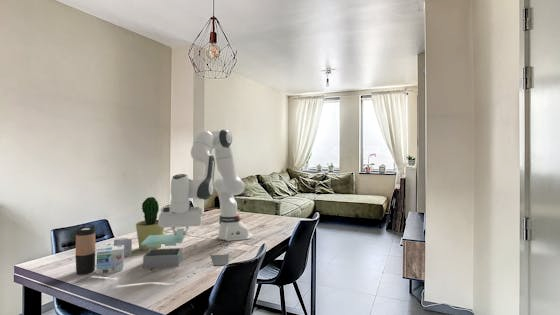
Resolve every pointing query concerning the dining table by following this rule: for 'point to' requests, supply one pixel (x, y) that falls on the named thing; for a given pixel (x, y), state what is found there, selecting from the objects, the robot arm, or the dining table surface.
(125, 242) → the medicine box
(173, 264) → the tub
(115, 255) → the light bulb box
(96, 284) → the dining table surface
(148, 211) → the potted cactus
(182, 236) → the lid
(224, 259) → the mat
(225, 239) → the robot arm
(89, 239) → the travel mug
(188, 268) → the dining table surface
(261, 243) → the dining table surface
